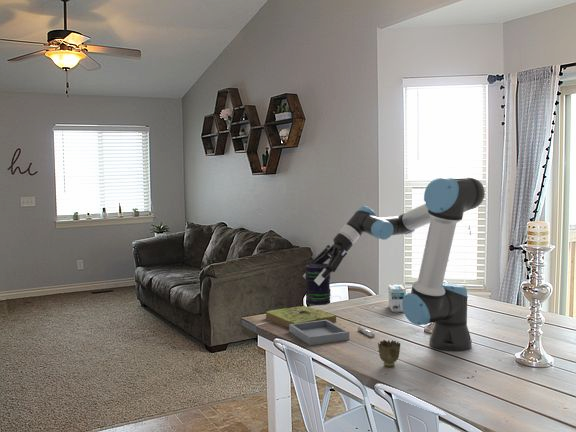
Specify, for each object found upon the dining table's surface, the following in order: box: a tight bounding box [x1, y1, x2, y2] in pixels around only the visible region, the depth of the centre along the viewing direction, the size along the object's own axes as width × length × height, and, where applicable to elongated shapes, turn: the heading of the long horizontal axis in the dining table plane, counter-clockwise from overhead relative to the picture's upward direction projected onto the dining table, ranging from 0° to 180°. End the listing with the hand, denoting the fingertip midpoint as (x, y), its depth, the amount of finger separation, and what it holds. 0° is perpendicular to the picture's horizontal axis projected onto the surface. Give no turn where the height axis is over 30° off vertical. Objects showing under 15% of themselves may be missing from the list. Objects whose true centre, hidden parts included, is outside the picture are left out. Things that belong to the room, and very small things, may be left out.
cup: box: [377, 339, 401, 368], centre depth 197 cm, size 8×7×8 cm
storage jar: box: [304, 262, 332, 306], centre depth 232 cm, size 10×10×15 cm
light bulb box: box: [388, 284, 407, 313], centre depth 274 cm, size 11×7×11 cm, turn 179°
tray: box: [288, 320, 350, 346], centre depth 233 cm, size 20×17×3 cm
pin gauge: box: [357, 326, 375, 338], centre depth 235 cm, size 10×2×2 cm
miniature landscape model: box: [265, 305, 337, 328], centre depth 257 cm, size 22×24×5 cm
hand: (310, 280), depth 230 cm, fingers closed on storage jar, 10 cm apart
